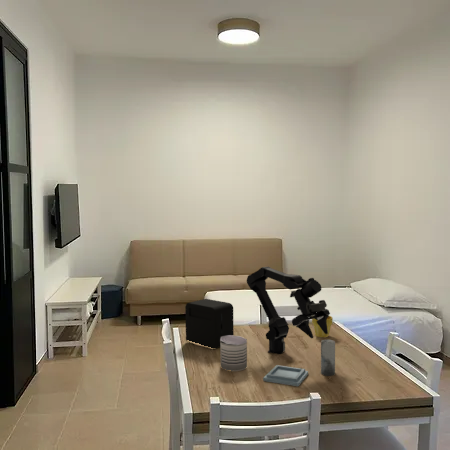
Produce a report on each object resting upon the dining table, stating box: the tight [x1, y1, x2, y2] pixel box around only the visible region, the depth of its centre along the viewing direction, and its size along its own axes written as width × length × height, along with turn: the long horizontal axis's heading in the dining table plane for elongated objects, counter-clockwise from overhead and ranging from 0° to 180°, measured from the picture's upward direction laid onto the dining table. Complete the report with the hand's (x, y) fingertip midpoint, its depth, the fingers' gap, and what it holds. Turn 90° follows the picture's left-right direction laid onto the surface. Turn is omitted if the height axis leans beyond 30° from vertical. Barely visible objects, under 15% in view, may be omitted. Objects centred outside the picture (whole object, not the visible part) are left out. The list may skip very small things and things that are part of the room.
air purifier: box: [184, 298, 235, 349], centre depth 237 cm, size 20×15×20 cm
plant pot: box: [311, 315, 334, 338], centre depth 248 cm, size 10×10×10 cm
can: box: [219, 335, 248, 372], centre depth 204 cm, size 11×11×12 cm
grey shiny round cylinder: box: [320, 339, 336, 377], centre depth 195 cm, size 6×6×13 cm
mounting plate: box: [262, 364, 309, 387], centre depth 191 cm, size 14×14×2 cm
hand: (319, 336), depth 203 cm, fingers open, 9 cm apart
